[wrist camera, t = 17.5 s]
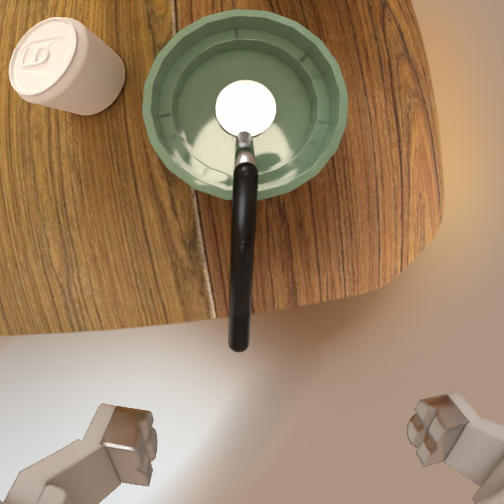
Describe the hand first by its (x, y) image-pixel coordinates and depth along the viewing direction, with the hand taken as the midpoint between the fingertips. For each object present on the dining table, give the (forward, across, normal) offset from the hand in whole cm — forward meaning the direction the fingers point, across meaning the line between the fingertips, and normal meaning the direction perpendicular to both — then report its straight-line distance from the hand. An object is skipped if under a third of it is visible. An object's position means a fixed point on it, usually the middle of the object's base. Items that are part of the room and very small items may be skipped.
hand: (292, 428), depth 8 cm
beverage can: (+27, +18, -17) cm, 37 cm away
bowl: (+27, +1, -13) cm, 30 cm away
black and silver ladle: (+27, +1, -4) cm, 27 cm away
